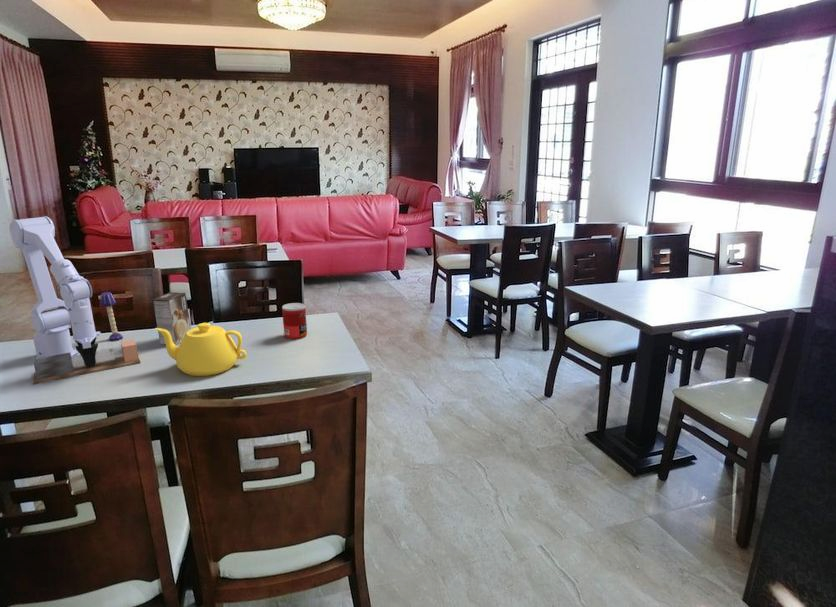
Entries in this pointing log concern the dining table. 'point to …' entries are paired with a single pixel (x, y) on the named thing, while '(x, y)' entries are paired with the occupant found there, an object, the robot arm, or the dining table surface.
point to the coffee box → (172, 315)
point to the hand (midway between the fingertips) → (90, 363)
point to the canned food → (294, 320)
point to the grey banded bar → (99, 357)
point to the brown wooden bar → (70, 367)
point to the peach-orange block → (129, 351)
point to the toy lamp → (110, 314)
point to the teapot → (205, 350)
